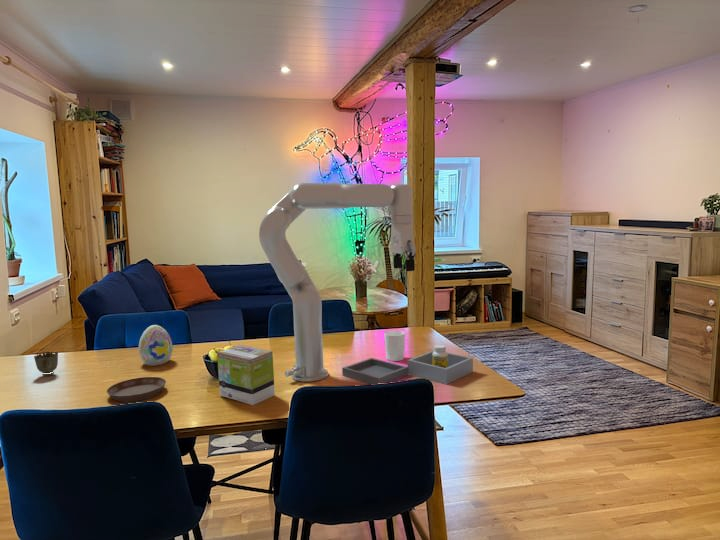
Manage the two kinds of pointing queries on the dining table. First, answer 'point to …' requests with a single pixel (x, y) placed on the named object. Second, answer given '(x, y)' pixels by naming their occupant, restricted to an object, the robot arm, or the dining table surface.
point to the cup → (46, 362)
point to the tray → (375, 371)
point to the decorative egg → (155, 346)
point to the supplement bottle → (440, 356)
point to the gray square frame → (440, 368)
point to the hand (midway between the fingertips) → (403, 269)
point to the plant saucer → (136, 389)
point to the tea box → (246, 374)
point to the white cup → (394, 345)
